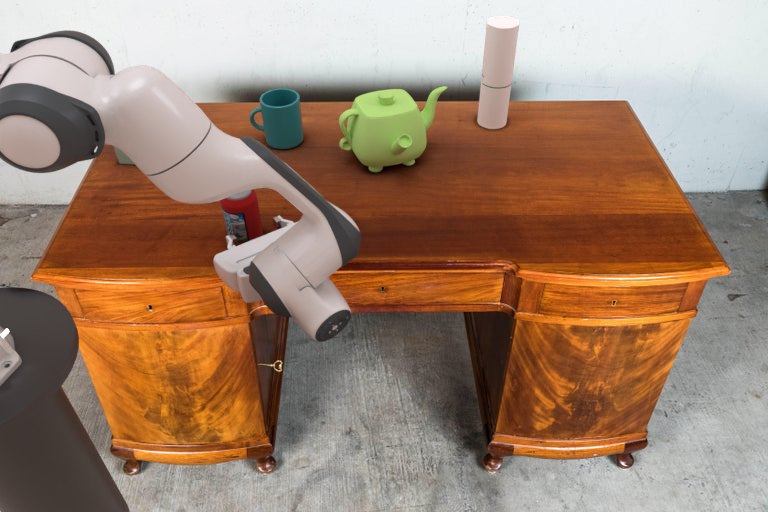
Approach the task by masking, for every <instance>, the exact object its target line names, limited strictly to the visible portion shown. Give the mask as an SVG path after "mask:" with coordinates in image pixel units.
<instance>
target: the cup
mask: <svg viewBox="0 0 768 512" xmlns="http://www.w3.org/2000/svg"><path fill="white" fill-rule="evenodd" d="M258 113H260V114H261V119H262V124H259V123H257V122H256V120H255V116H256V114H258ZM249 122H250V124H251V125H252V127H253V128H254V129H256V130H258V131H261V132H263V133H264V139H265V142H266V144H267V145H268V146H269V147H270V148H273V149H276V150H290V149H293V148H296V147H297V146H300V145H301V143H302V142H303V141H304V138H305V135H304V125H303V117H302V105H301V97H300V93H298V91H296V90H294V89H291V88H285V87H283V88H280V87H279V88H273V89H270V90H267V91H265V92H264V93H262V94H261V95H260V97H259V106H258V107H255V108H254V109H252V110H251V112H250V114H249Z"/></svg>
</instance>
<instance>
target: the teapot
mask: <svg viewBox="0 0 768 512" xmlns="http://www.w3.org/2000/svg"><path fill="white" fill-rule="evenodd" d="M447 89H448V86H447V85H442V86H439V87H436V88H434V89H433V90H431V92H430V93H429V95H428V97H427V100H426V103H425V105H424V108H423V109H422V110H421V111H420V109H419V106H418V104H417V103H416V101H415V100H414V98H413V97H412V96H411V94H409V93H408V91H406V90H405V89H402V88H390V89H381V90H375V91H371V92H370V91H369V92H367V93H363V94H361V95H358V96H356V97H355V99H354V100H353V102H352V105H351V108H349V109H346V110H344V111H343V112H342V113H341V114H340V116H339V117H338V118H339V119H338V125H339V128H340V130H341V132H342V134H343V136H344V137H342V138H341V139H340V140H339V143H338V145H339V148H340V149H341V150H342V151H344V152H345V151H346V152H349V151H352V152H353V153H354V155H355V156H356V158H357V159H358V161H359V162H360V163H361V164H362V165H363V166H366V167H368V170H369V171H370V172H372V173H378V172H381V171H382V170H383V169H384V167H389V166H395V165H400V164H402V165H404V166H412V165H414V164H415V163H416V161H415V160H416V159H418V158H420V156H422V154H423V153H424V151H425V150H426V147H427V143H428V141H427V130H429V128H430V127H431V126H432V124H433V122H434V119H435V113H436V107H437V102H438V99H439V97H440V95H441V94H443V93H444V92H445V91H447ZM346 120H347V122H346ZM345 122H346V123H345ZM345 124H346V125H345ZM346 142H347V143H346ZM345 143H346V144H345Z"/></svg>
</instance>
